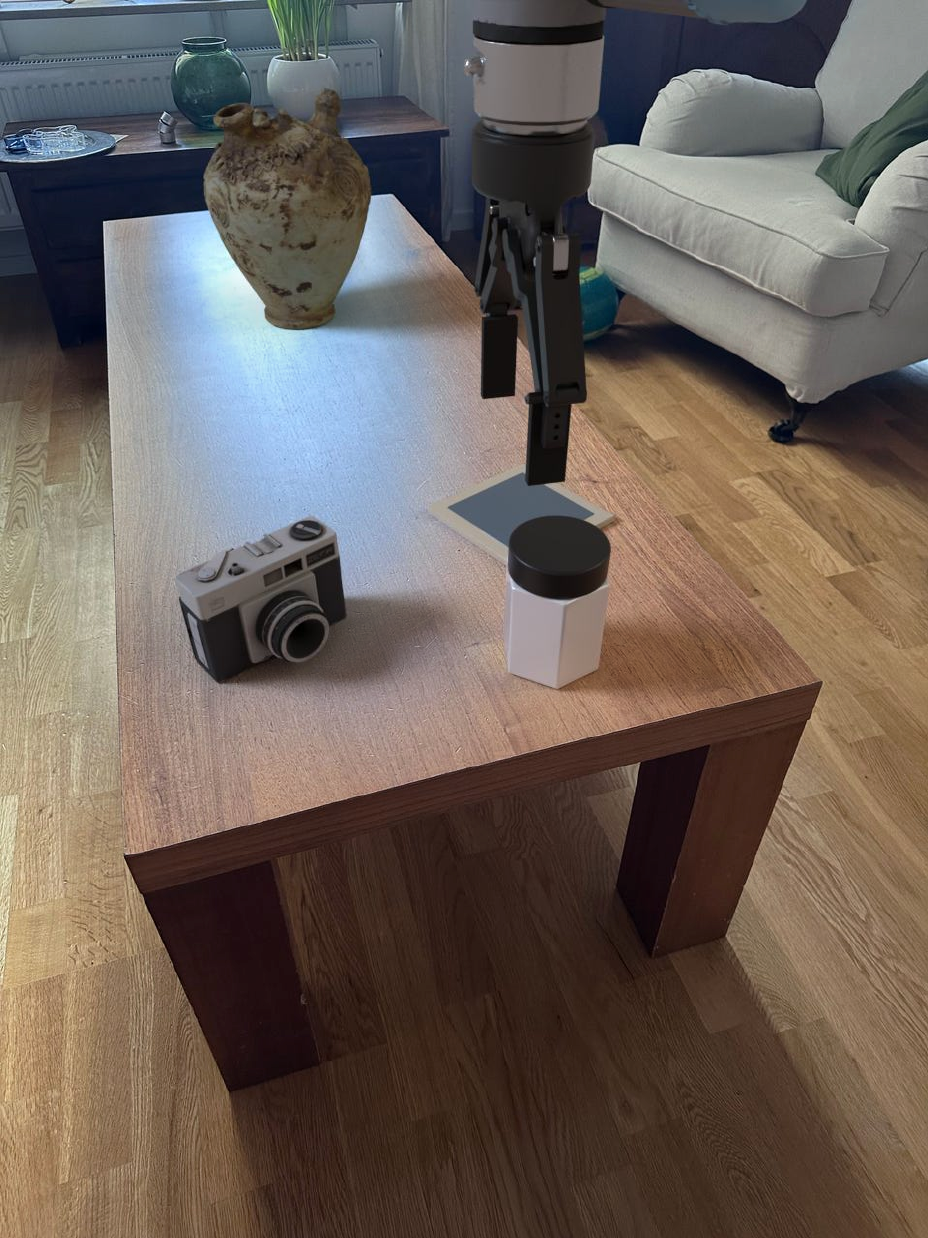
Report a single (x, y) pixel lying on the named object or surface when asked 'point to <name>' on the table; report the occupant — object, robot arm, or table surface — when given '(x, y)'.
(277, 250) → the vase
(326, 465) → the table surface
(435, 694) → the table surface
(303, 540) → the camera
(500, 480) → the tile
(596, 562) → the jar
